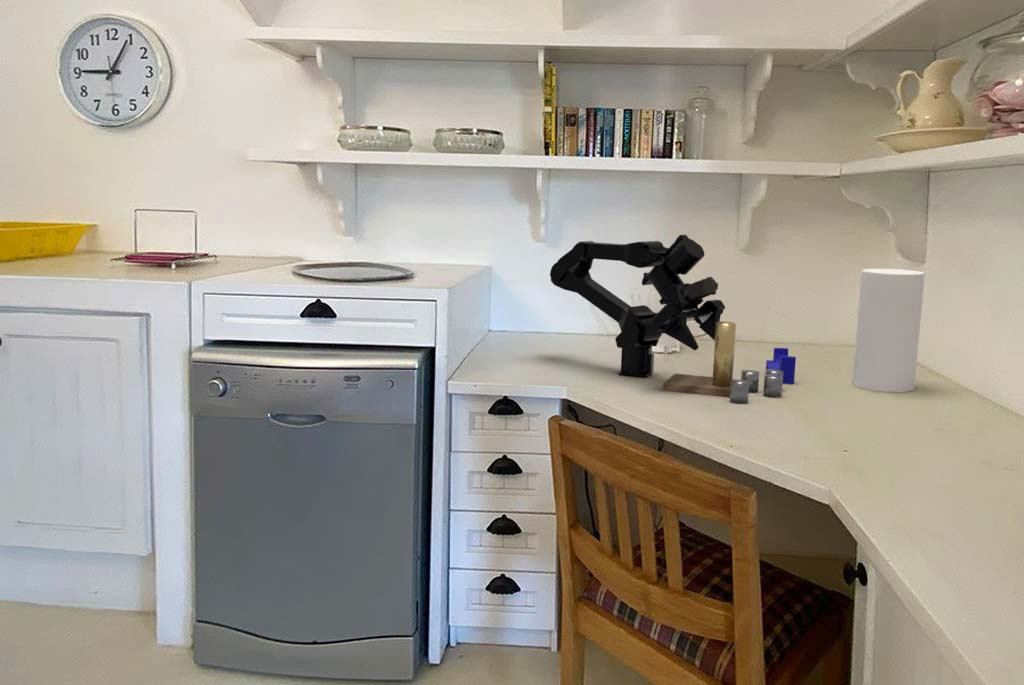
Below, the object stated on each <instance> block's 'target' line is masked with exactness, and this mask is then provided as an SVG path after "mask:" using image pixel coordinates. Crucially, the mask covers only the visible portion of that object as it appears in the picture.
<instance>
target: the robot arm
mask: <svg viewBox="0 0 1024 685" xmlns="http://www.w3.org/2000/svg"><path fill="white" fill-rule="evenodd" d="M663 244H664V243H663V242H661V241H659V240H653V241H652V240H651V241H648V240H647V241H636V242H630V243H626V244H625V243H624V244H623V243H609V242H595V241H592V240H586V241H579V242H577V243H576V244H575V245H574V246H573V247H572V249H571V250H569V251H568V252H567V253H565V254H564V255H563V256H560V258H559V259H558V260H557V261H556V262H555V263H554V264H553V265H552V266H551V268H550V273H549V277H550V282H551V283H552V284H553V286H556V287H557V288H560V289H562V290H563V291H568V292H573V293H576V294H578V295H579V296H581V298H583V299H585V300H587V301H588V302H589V303H590V304H591V305H593V306H594V307H595V308H598V309H599V310H600V311H601V312H603V313H604V314H605V315H607V316H608V317H610V318H611V319H612V320H613V321H615V322H616V323H617V324H618V325H619V328H620V331H621V332H619V334H618V335H617V336H616V337H615V344H616V347H617V348H619V349H621V359H620V360H621V361H620V371H618V375H622V376H633V377H641V378H642V377H643V378H644V377H645V378H647V377H649V376H650V375H651V374H652V373H653V371H654V366H655V365H654V364H655V353H653V347H657V345H658V343H659V340H660V338H661V337H662V335H663V334H665V335H667V336H669V337H671V339H675V340H676V341H678V342H680V343H681V344H683V345H685V346H686V347H689V348H690V349H691V350H694V351H697V350H699V344H698V343H697V340H696V338H695V337H694V335H693V333H692V331H691V330H690V328H689V326H688V324H687V320H690V319H691V320H692V319H693V320H694V321H695V322H696V323H697V325H698V328H700V329H701V330H702V331H703V332H704V333H705V334H706V335H708V336H709V337H710V338H711V339H712V340H713V341H714V342H715V331H716V322H720V321H721V315H722V314H724V310H725V309H726V305H725V304H724V303H723V301H722V300H721V299H709V300H706V301H704V298H706V297H710V296H711V295H712V296H714V295H716V294H717V290H718V289H719V288H718V286H719V283H718V282H717V281H716V280H715V279H714V278H713V276H706V277H705V278H702V279H700V280H698V281H695V282H692V283H689V282H688V283H687V282H686V283H684V281H683V280H682V278H681V277H680V275H683V276H684V275H685V276H686V275H688V273H689V272H690V271H691V270H693V268H694V267H695V266H696V265H698V263H699V262H700V261H701V260H702V259H703V258H704V257H705V250H704V249H703V247H702V246H701V245H700V244H698V243H697V242H696V241H695V240H693V238H689V236H688V235H687V234H679V235H678V236H677V237H676V239H675V241H674V242H673V243H672V244H671V245H670V246H669V247H666V246H664V245H663ZM594 259H595V260H605V261H606V260H607V261H618V262H623V263H625V264H626V265H628V266H632V267H635V268H638V269H644V268H645V269H646V268H652V269H650V271H649V272H644V273H643V278H642V281H641V285H642V286H651V285H652V286H653V287H654V288H655V290H656V291H657V293H658V295H659V296H660V299H659V300H658V302H659V304H660V305H661V306H663V305H664V306H663V307H662V308H661V309H660V310H659V311H658V312H655V311H653V310H652V309H650V308H649V306H647V305H646V304H645V305H636V306H631V305H629V304H628V303H627V302H625V301H624V300H622V299H621V298H619V296H617V295H615V294H614V293H612V292H611V291H609V290H608V289H606V287H604V286H602V284H600V283H598V281H596V280H594V279H593V278H592V276H591V273H590V270H591V268H592V266H593V262H594ZM703 302H704V303H703ZM702 303H703V304H702ZM701 304H702V305H701ZM699 305H701V306H700V307H699Z"/></svg>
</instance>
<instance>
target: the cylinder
mask: <svg viewBox="0 0 1024 685" xmlns="http://www.w3.org/2000/svg"><path fill="white" fill-rule="evenodd" d="M925 276H926V275H925V272H923V271H918V270H913V269H912V270H911V269H910V270H909V269H901V268H900V269H899V268H898V269H894V268H864V269H862V270H861V276H860V285H859V287H860V288H859V300H858V310H857V311H858V313H857V323H856V324H857V325H856V334H855V335H856V336H855V346H854V347H855V350H854V359H853V360H854V362H853V372H852V385H853V386H855V387H857V388H859V389H863V390H868V391H873V392H874V391H875V392H881V393H882V392H883V393H907V392H908V391H909V392H912V391H914V390H915V385H916V384H915V383H916V373H917V372H916V371H917V361H918V350H919V342H920V341H919V339H920V331H921V330H920V328H921V320H922V318H921V317H922V307H923V300H924V299H923V298H924V286H925V278H926V277H925Z"/></svg>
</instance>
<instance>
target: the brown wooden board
mask: <svg viewBox="0 0 1024 685" xmlns="http://www.w3.org/2000/svg"><path fill="white" fill-rule="evenodd" d="M712 380H713V376H705V375H695V374H693V375H692V374H683V373H674V374H673V375H671V376H670V377H669V378H667V380H665V381H664V382H663V388H662V390H663V391H665V390H666V391H667V392H676V393H688V394H696V395H707V396H716V397H725V398H726V397H727V398H730V387H718V386H714V385H712ZM732 380H739V379H737V378H735V379H734V378H732Z"/></svg>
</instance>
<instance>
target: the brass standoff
mask: <svg viewBox="0 0 1024 685" xmlns="http://www.w3.org/2000/svg"><path fill="white" fill-rule="evenodd" d="M736 325H737V323H736V322H732V321H721V320H720V322H716V331H715V341H714V348H713V365H712V366H713V367H712V377H713V380H712V385H714V386H718V387H730V386H731V380H732V379H733V376H734V375H733V374H734V360H735V346H736V331H737V330H736V329H737V328H736V327H737V326H736Z"/></svg>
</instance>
